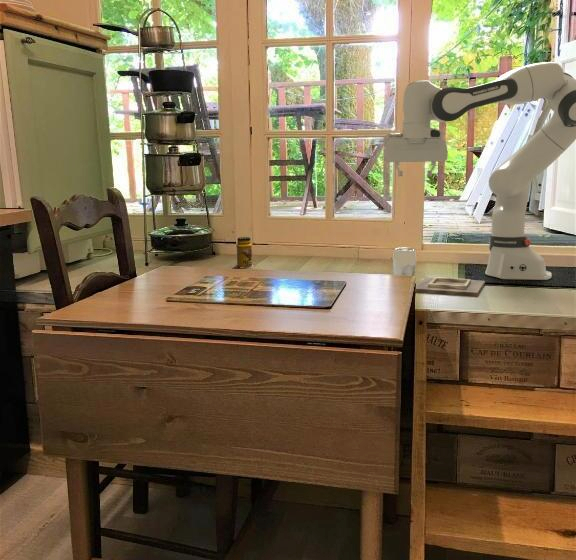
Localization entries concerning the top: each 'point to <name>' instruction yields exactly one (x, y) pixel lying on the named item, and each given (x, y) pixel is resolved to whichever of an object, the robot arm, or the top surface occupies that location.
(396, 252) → the beer glass
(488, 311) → the top surface
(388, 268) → the top surface
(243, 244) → the condiment
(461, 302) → the top surface
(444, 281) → the walnut board
